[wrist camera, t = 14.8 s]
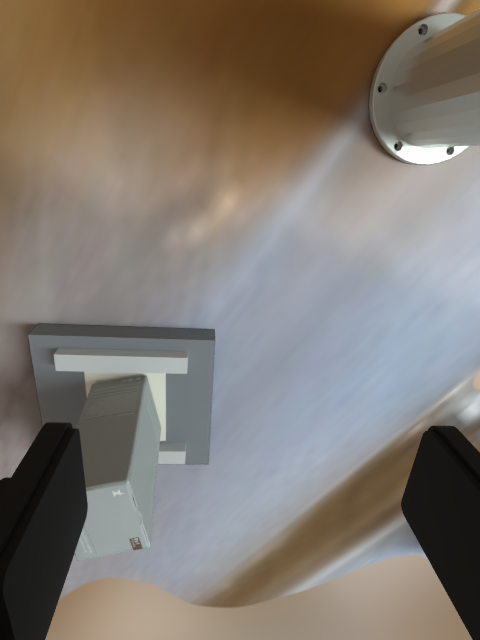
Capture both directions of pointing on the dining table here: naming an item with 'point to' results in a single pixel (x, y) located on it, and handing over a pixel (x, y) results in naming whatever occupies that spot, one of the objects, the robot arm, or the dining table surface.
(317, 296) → the dining table surface
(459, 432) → the robot arm
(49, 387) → the panel
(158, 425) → the skincare box
